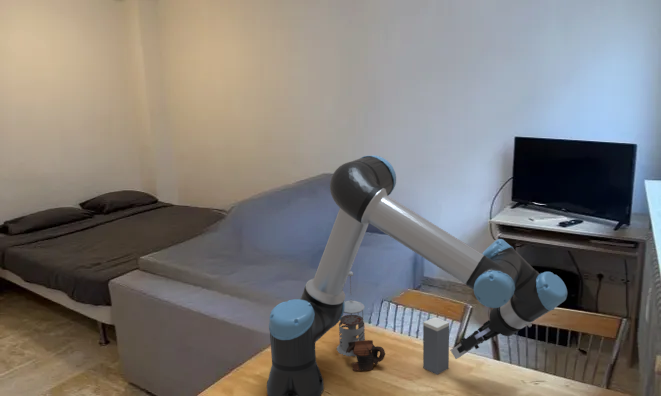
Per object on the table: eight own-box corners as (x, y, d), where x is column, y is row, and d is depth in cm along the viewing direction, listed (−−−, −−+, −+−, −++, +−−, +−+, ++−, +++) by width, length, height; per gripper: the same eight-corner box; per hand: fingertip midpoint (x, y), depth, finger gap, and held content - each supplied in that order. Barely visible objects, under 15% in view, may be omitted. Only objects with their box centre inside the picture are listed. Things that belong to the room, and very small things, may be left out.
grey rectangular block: (423, 367, 152) (423, 322, 149) (434, 361, 155) (435, 316, 152) (437, 374, 148) (437, 327, 145) (448, 368, 151) (449, 322, 148)
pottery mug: (342, 372, 152) (340, 342, 154) (355, 371, 160) (353, 343, 162) (382, 368, 147) (378, 338, 149) (393, 368, 155) (390, 338, 158)
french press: (331, 352, 162) (328, 274, 157) (347, 336, 172) (345, 262, 167) (360, 359, 158) (358, 279, 152) (375, 342, 168) (374, 266, 162)
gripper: (505, 338, 123) (446, 375, 139) (535, 321, 131) (477, 358, 147) (486, 309, 126) (431, 349, 142) (517, 294, 134) (462, 333, 150)
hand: (454, 353), depth 145 cm, fingers closed
